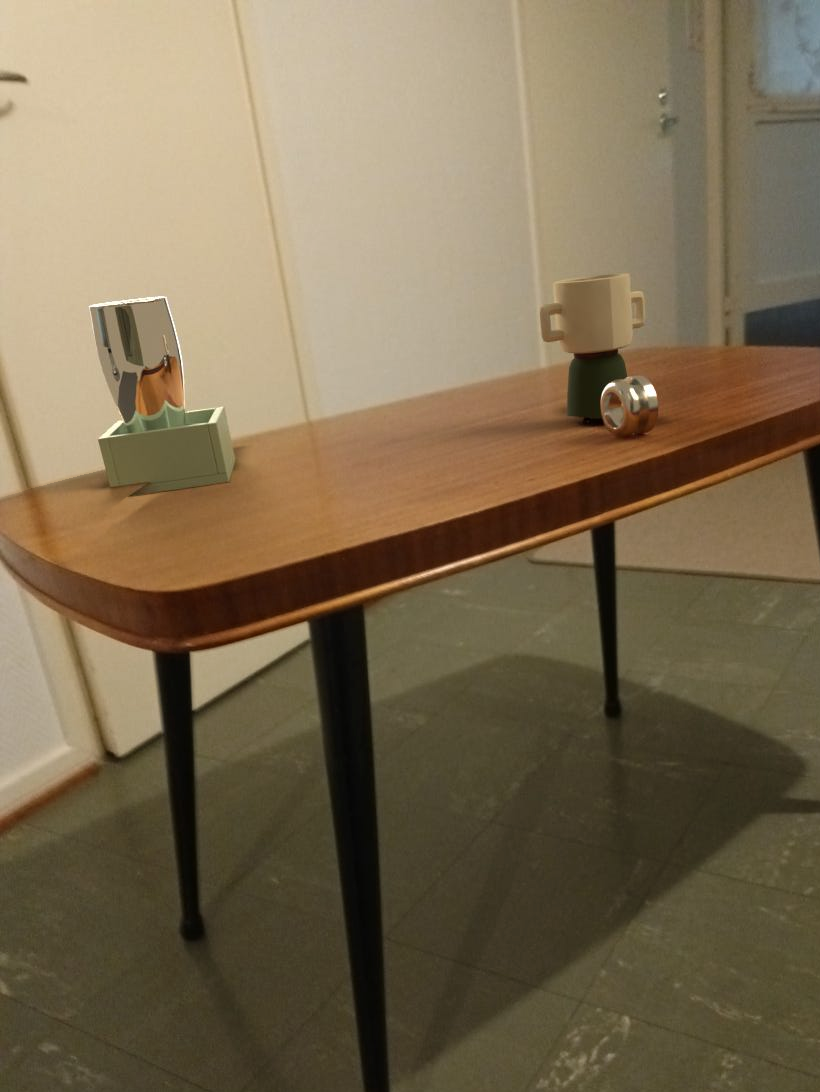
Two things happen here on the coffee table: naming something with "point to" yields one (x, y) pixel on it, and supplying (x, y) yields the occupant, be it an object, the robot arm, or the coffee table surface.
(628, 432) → the metal grooved wheel
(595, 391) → the character mug
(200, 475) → the green storage bin
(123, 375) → the beer glass
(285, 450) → the coffee table surface
